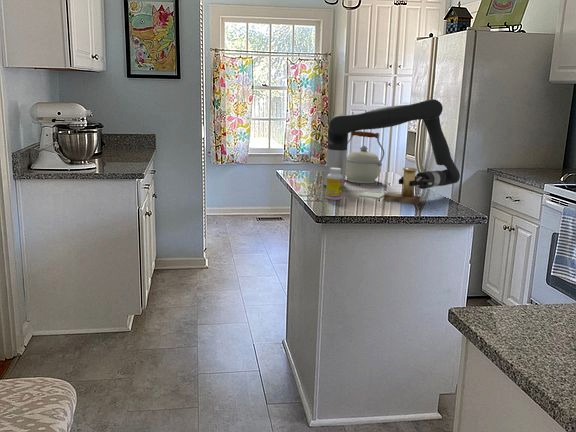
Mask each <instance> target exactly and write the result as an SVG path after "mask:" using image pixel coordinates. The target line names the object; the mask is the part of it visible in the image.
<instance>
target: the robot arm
mask: <svg viewBox="0 0 576 432" xmlns="http://www.w3.org/2000/svg"><path fill="white" fill-rule="evenodd" d="M442 113H443V105H442V103H441V102H440V101H439V100H437V99H435V98H429V99H425V100H423V101H419V102H416V103H412V104H411V103H410V104H402V105H400V104H399V105H391V106H385V107H378V108H375V109H374V108H373V109H370V110H368V111H364V112H361V113H357V114H348V115H347V114H335V115H333V116H332V117H331V118H330V120H329V124H328V133H327V135H328V136H327V148H326V149H327V151H326V161H325V163H326V164H325V165H324V172H323V186H326V184H327V175H328V174H330V168H340V169H341V172H340V174H341V175H342V176H343V182H342V188H343V187H344V186H345V179H346V175H345V170H346V158H347V156H348V155H347V154H348V144H349V143H348V141H349V140H348V139H349V133H350V134H351V132H354V131H363V130H376V129H386V128H390V127H396V126H400V125H403V124H405V123H408V122H412V121H418V120H419V121H420V120H423V121H422V122H423V123H424V125H425V127H426V131H427V134H428V136H429V139H430V143H431V148H432V151H433V156H434V159H435V164H436V165H438V166H443V167H445V168H446V169H443V170H424V171H419V172H418V173H416V174H415V180H414V181H410V183H409V186H414V187H417V188H418V189H421V190H425V189H431V188H435V187H443V186H444V187H445V186H448V185H449V186H450V185H452V184H456V183H458V182H459V181H460V179H461V175H460V171H459V168H457V166H456V164H455V162H454V160H453V159H452V155H451V152H450V148H449V145H448V142H447V139H446V137H445V135H444V132H443V130H442V125H441V121H440V116H441V115H442ZM398 184H399V185H403V176H401V178H399V179H398Z"/></svg>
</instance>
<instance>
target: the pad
mask: <svg viewBox="0 0 576 432" xmlns="http://www.w3.org/2000/svg"><path fill="white" fill-rule="evenodd" d="M385 194H386V193H378V192H377V193H376V192H370V191H364V192H362V193H360V194H359V195H358V196H359V197H363V198H371V199H377V200H379V199H382V198H384V195H385Z"/></svg>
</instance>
